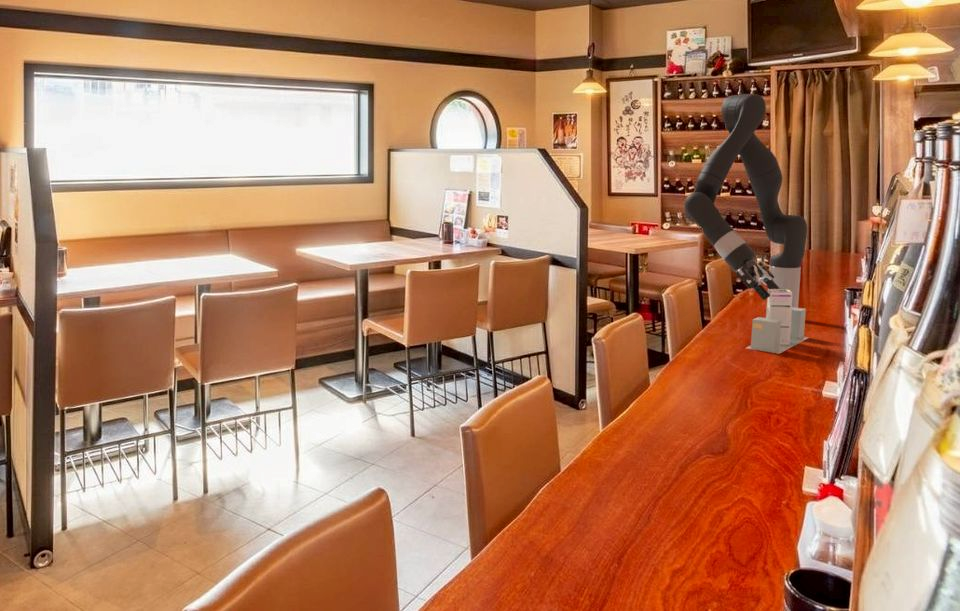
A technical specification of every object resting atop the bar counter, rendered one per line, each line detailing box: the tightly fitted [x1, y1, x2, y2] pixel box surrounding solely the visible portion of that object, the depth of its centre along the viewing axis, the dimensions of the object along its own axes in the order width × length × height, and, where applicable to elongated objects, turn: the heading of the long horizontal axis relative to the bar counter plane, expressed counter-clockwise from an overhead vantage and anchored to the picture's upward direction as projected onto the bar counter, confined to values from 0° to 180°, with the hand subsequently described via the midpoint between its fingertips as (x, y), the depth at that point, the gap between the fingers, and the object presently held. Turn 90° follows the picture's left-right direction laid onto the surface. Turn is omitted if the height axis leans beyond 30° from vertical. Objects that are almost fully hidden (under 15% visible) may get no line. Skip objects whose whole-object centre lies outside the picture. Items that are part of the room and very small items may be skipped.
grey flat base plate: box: [745, 336, 810, 355], centre depth 205 cm, size 23×9×1 cm, turn 138°
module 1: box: [750, 316, 781, 354], centre depth 197 cm, size 4×6×8 cm
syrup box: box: [766, 289, 792, 345], centre depth 204 cm, size 6×6×14 cm
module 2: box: [790, 307, 807, 339], centre depth 211 cm, size 4×6×8 cm
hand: (773, 295), depth 204 cm, fingers open, 8 cm apart
